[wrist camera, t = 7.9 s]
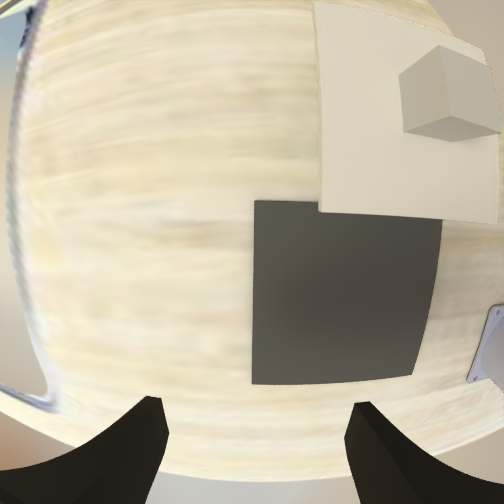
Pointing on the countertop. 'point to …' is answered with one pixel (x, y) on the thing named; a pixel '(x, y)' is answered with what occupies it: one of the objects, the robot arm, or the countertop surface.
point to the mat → (339, 293)
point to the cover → (403, 119)
